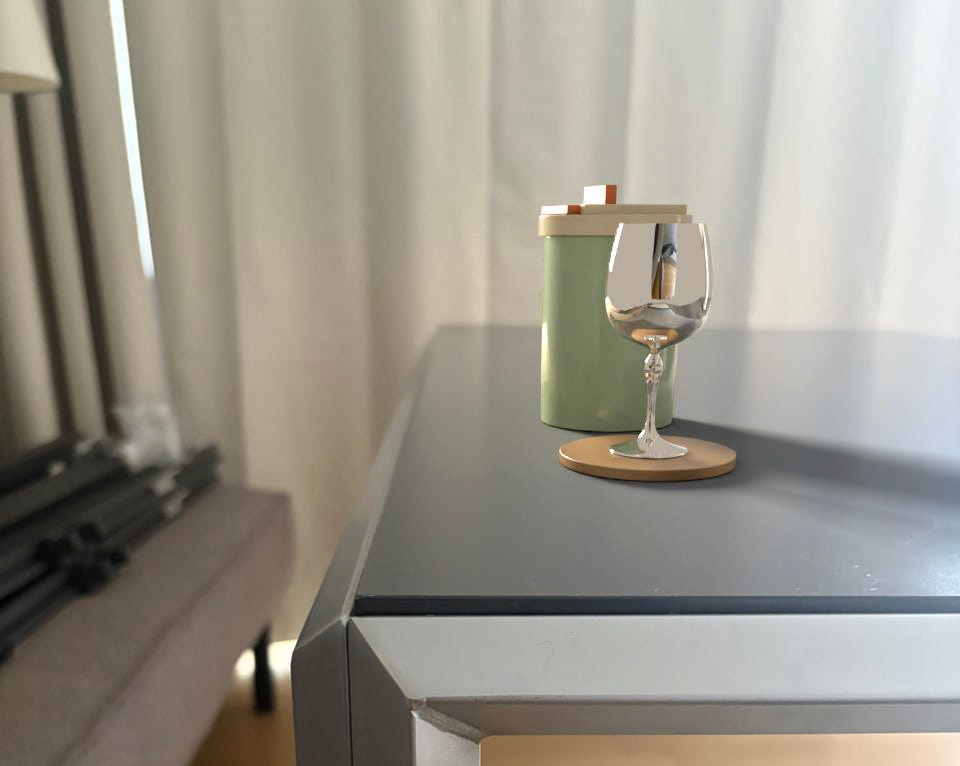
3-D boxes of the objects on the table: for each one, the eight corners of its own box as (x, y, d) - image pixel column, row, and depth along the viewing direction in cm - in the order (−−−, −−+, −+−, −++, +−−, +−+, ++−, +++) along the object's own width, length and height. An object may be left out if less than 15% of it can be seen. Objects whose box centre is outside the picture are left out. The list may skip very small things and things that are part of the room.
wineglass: (577, 450, 57) (585, 223, 52) (638, 436, 61) (650, 224, 56) (659, 466, 53) (676, 223, 49) (719, 450, 57) (740, 223, 52)
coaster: (677, 439, 63) (678, 430, 63) (771, 472, 54) (773, 461, 54) (532, 451, 60) (532, 441, 60) (608, 488, 51) (608, 476, 51)
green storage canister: (634, 404, 76) (645, 207, 70) (706, 427, 67) (724, 203, 62) (513, 412, 72) (515, 206, 67) (571, 437, 64) (579, 202, 59)
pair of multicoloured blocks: (591, 215, 66) (592, 186, 66) (619, 214, 63) (620, 184, 62) (541, 214, 65) (542, 186, 64) (567, 213, 62) (568, 183, 61)
